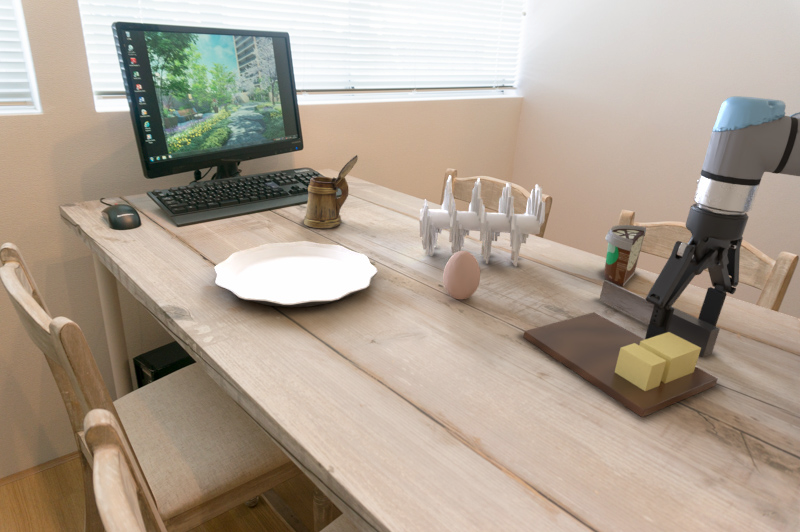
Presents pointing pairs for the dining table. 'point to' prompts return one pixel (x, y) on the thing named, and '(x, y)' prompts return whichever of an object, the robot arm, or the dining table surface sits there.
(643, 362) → the butter slice
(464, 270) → the egg
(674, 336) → the butter bar
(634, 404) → the cutting board
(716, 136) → the robot arm
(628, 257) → the food container
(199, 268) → the dining table surface
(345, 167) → the wooden mug
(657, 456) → the dining table surface
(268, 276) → the plate
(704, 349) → the knife
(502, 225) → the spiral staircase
